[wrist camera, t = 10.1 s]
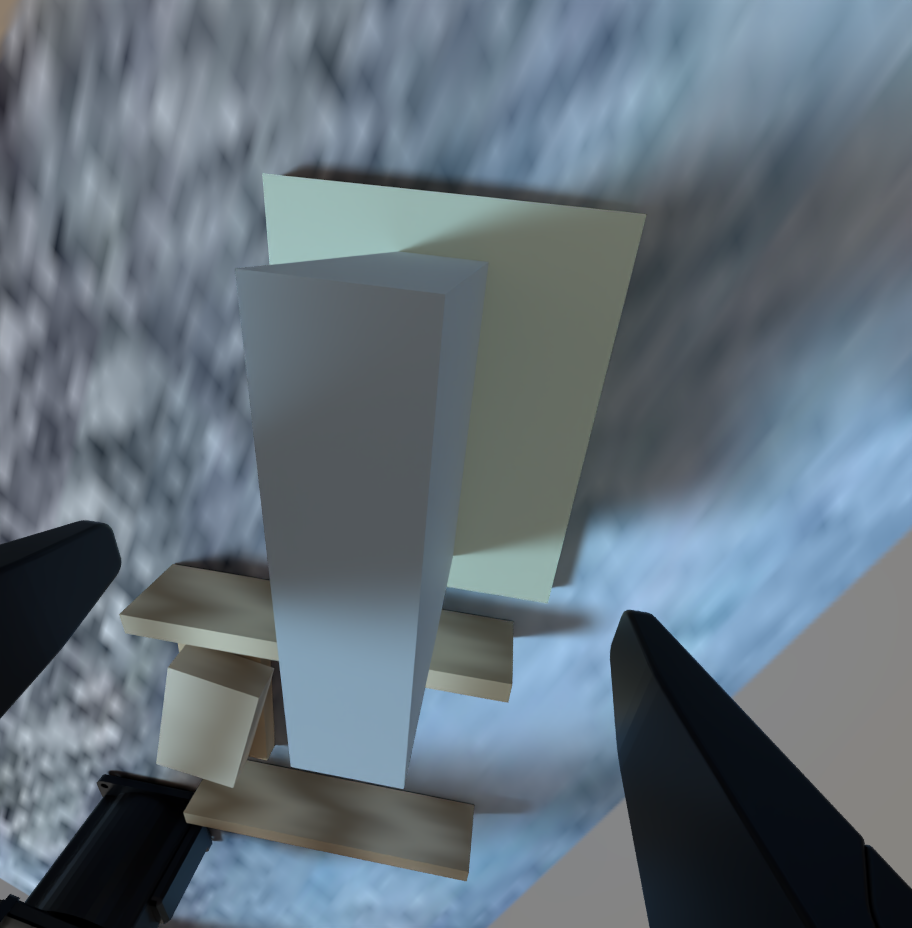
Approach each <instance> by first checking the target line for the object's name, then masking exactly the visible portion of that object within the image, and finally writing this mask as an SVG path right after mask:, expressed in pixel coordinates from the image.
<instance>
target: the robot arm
mask: <svg viewBox="0 0 912 928" xmlns="http://www.w3.org/2000/svg"><path fill="white" fill-rule="evenodd" d="M120 568H121V557H120V553H119V550H118V547H117V543H116V540H115V537H114V533H113V530H112V528H111V527H110V526H109V525H107V524H105V523H100V522H94V521H87V520H83V521H78V522H74V523H71V524H68V525H64V526H61V527H57V528H54V529H51V530H47V531H44V532H41V533H37V534H34V535H31V536H27V537H24V538H21V539H17V540H14V541H10V542H7V543H4V544H0V718H1V717H2V716H3V715H4V714H5V713H6V712H7V710H8V709H9V708H10V707H11V706H12V705H13V704H14V703H15V701H16V700H17V699H18V698H19V697H20V696H21V695H22V694H23V692H24V691H25V690H26V689H27V688H28V687H29V686H30V685H31V683H32V682H33V681H34V680H35V679H36V678H37V677H38V675H39V674H40V673H41V672H42V671H43V670H44V669H45V668H46V666H47V665H48V664H49V663H50V662H51V661H52V660H53V658H54V657H55V656H56V655H57V654H58V652H59V651H60V650H61V649H62V648H63V646H64V645H65V644H66V642H67V641H68V640H69V639H70V637H71V636H72V635H73V633H74V632H75V631H76V629H77V628H78V627H79V625H80V624H81V623H82V621H83V620H84V619H85V617H86V616H87V615H88V613H89V612H90V611H91V609H92V608H93V606H94V605H95V604H96V602H97V601H98V600H99V598H100V597H101V596H102V594H103V593H104V592H105V590H106V589H107V588H108V586H109V585H110V584H111V582H112V581H113V580H114V578H115V577H116V576H117V574H118V573H119V570H120ZM610 665H611V678H612V691H613V703H614V716H615V729H616V741H617V751H618V759H619V765H620V771H621V777H622V782H623V787H624V793H625V798H626V803H627V808H628V814H629V819H630V824H631V830H632V836H633V841H634V846H635V852H636V857H637V863H638V868H639V873H640V878H641V884H642V890H643V895H644V900H645V905H646V911H647V916H648V921H649V927H650V928H912V889H911V888H910V887H909V886H908V885H907V883H906V882H905V881H904V880H903V879H902V878H901V877H900V876H899V875H898V874H897V873H896V872H895V871H894V870H893V869H892V868H891V867H890V865H888V863H887V862H886V861H885V860H884V859H883V858H882V857H881V856H880V855H879V854H878V853H877V852H876V851H875V850H874V849H873V847H871V846H870V845H865V843H864V839H863V837H862V836H861V835H860V834H859V833H858V832H857V831H856V830H855V829H854V828H853V827H852V825H851V824H850V823H849V822H848V821H847V820H846V819H845V818H844V817H843V816H842V815H841V814H840V813H839V812H838V811H837V810H836V809H835V807H834V806H833V805H832V804H831V803H830V802H829V801H828V800H827V799H826V798H825V797H824V796H823V795H822V794H821V793H820V792H819V790H817V788H816V787H815V786H814V785H813V784H812V783H811V782H810V781H809V780H808V779H807V778H806V777H805V776H804V774H802V772H801V771H800V770H799V769H798V768H797V767H796V766H795V765H794V764H793V763H792V762H791V761H790V760H789V759H788V758H787V756H786V755H785V754H784V753H783V752H782V751H781V750H780V749H779V748H778V747H777V746H776V745H775V744H774V743H773V742H772V741H771V740H770V738H769V737H768V736H767V735H766V734H765V733H764V732H763V731H762V730H761V729H760V728H759V727H758V726H757V725H756V724H755V723H754V721H752V719H751V718H750V717H749V716H748V715H747V714H746V713H745V712H744V711H743V710H742V709H741V708H740V707H739V706H738V705H737V703H736V702H735V701H734V700H733V699H732V698H731V697H730V696H729V695H728V694H727V693H726V692H725V691H724V690H723V689H722V687H721V686H720V685H719V684H718V683H717V682H716V681H715V680H714V679H713V678H712V677H711V676H710V675H709V674H708V673H707V672H706V671H705V669H704V668H703V667H702V666H701V665H700V664H699V663H698V662H697V661H696V660H695V659H694V658H693V657H692V656H691V655H690V654H689V652H688V651H687V650H686V649H685V648H684V647H683V646H682V645H681V644H680V643H679V642H678V641H677V640H676V639H675V638H674V637H673V635H672V634H671V633H670V632H669V631H668V630H667V629H666V628H665V627H664V626H663V625H662V624H661V623H660V622H659V621H658V620H657V619H656V617H654V616H653V615H652V614H650V613H647V612H641V611H635V610H626V611H625V612H624V613H623V614H622V616H621V619H620V622H619V625H618V627H617V630H616V633H615V636H614V638H613V641H612V644H611V649H610ZM97 785H98V788H99V790H100V792H101V794H102V796H103V798H102V799H101V801H100V802H99V803H98V805H97V806H96V807H95V809H94V810H93V811H92V813H91V814H90V815H89V817H88V818H87V819H86V821H85V822H84V824H83V825H82V826H81V828H80V829H79V830H78V832H77V833H76V834H75V836H74V837H73V838H72V840H71V841H70V842H69V844H68V845H67V846H66V848H65V849H64V850H63V852H62V853H61V854H60V856H59V857H58V858H57V860H56V861H55V862H54V864H53V865H52V866H51V868H50V869H49V870H48V872H47V873H46V874H45V876H44V877H43V878H42V880H41V881H40V882H39V884H38V885H37V886H36V888H35V889H34V890H33V892H32V893H31V895H30V896H29V897H28V899H27V900H26V901H25V903H24V902H22V901H19V899H20V898H19V897H16V896H14V895H11V894H10V895H9V896H8V897H7V898H6V899H5V900H0V928H157V927H158V925H159V923H163V924H166V923H167V922H168V921H169V920H171V918H172V916H173V914H174V912H175V910H176V908H177V906H178V904H179V902H180V900H181V898H182V896H183V894H184V893H185V891H186V889H187V887H188V885H189V883H190V881H191V879H192V877H193V875H194V873H195V871H196V869H197V867H198V865H199V863H200V861H201V859H202V857H203V856H204V854H205V852H207V851H209V849H210V847H211V845H212V840H211V836H210V833H209V829H208V827H205V826H200V825H195V824H190V823H186V820H185V816H184V813H183V812H184V810H185V809H186V807H187V805H188V804H189V802H190V800H191V799H192V797H193V795H194V792H190V791H185V790H180V789H175V788H171V787H166V786H161V785H156V784H151V783H146V782H141V781H136V780H131V779H127V778H122V777H117V776H112V775H106V774H105V775H102V777H101V778H100V779H99V781H98V782H97Z"/></svg>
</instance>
